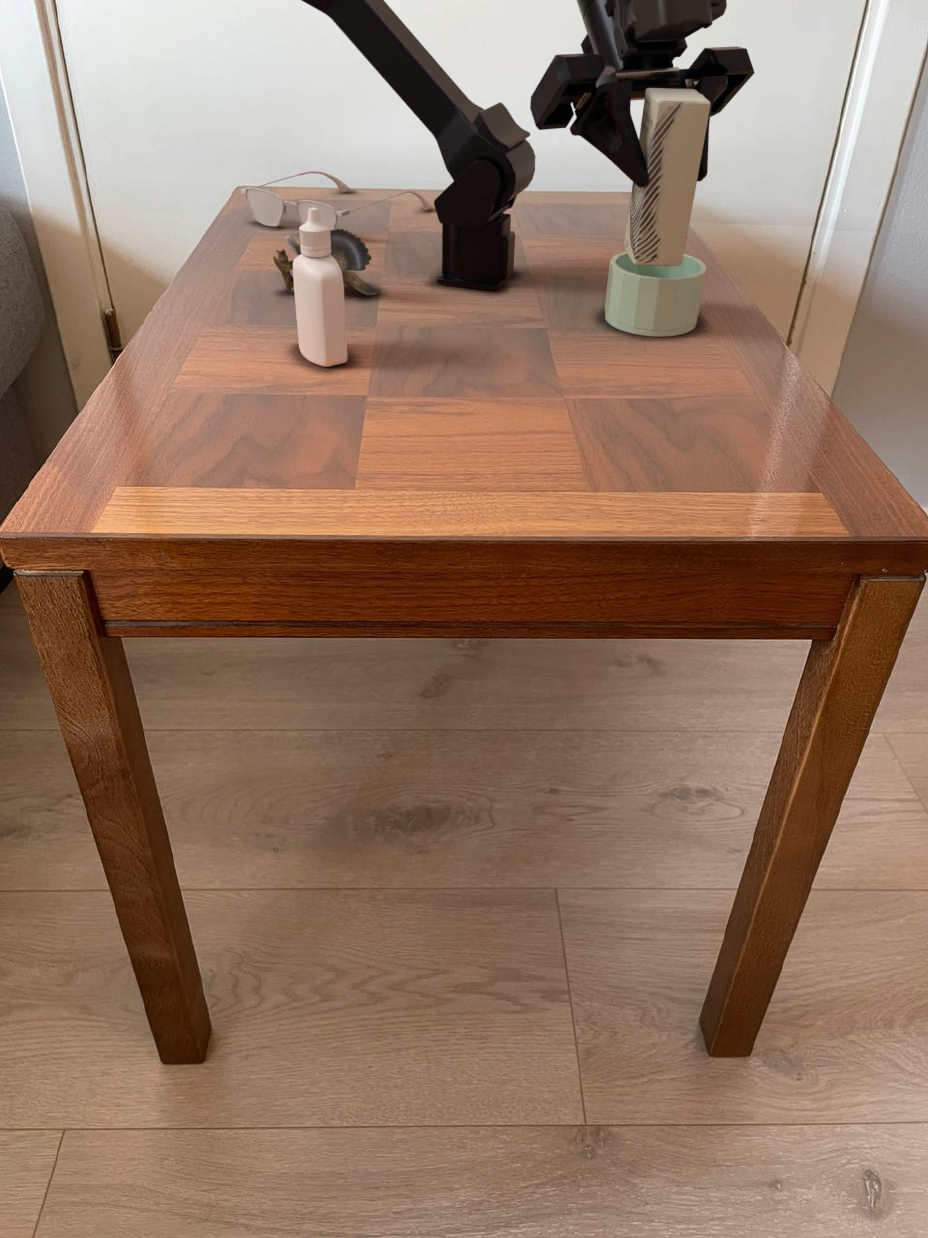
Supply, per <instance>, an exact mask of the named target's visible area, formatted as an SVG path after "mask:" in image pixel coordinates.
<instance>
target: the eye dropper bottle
mask: <svg viewBox="0 0 928 1238" xmlns="http://www.w3.org/2000/svg"><path fill="white" fill-rule="evenodd" d="M298 234H299V235H298V236H299V245H300V248H301V253H302V254H301V255H299V256H297V255H296V257H295V258H294V259H293V261H294V262H293V269H292V277H293V280H294V287H293V291H294V303H295V315H296V327H297V339H298V348H299V351H300V353H301V355H302V357H303V358H305V359H306V360H307V361H309V362H310V363H313V364H314V365H317V366H320V367H325V368H326V367H327V368H328V367H333V366H337V365H341V364H345V363H347V361H348V356H349V355H348V339H347V338H348V337H347V321H346V319H347V318H346V302H345V287H344V282H343V275H342V271H341V268H340V266H339V264H338V263H337V261H336V260H335V259H334V258H333V257H332V255H331V254H330V253H331V239H330V227H329V226H328V225H326V224H324V223H322V222H321V220H320V217H319V212H318V209H317V208H309V210H308V219H307V222H306V223H305V224H303V225H302V224H300V226H299V227H298Z"/></svg>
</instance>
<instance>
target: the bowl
mask: <svg viewBox="0 0 928 1238" xmlns="http://www.w3.org/2000/svg"><path fill="white" fill-rule="evenodd" d="M707 268H708V266H706V264H705V263H704V262H703V261H702V260H701V259H698V258H696V257H695V256H692V255H689V254H686V253H684V256H683V261H682V265H679V266H655V265H635V264H634V263H633V262H632V260H631V258H630V257H629V255H628V253H627V251H626V250H625V251H622V252H620V253H618V254H615V255H613V256H612V257H611V259H610V260H609V266H608V275H607V284H606V285H607V286H606V295H605V301H604V302H605V303H604V319H605V321H606V323H608V324H609V325H610V326H612V327H613V328H615V329H617V330H619V331H622V332H625V333H628V334H633V335H636V336H637V335H638V336H643V337H659V338H660V337H661V338H662V337H674V336H680V335H684V334H687V333H689V332H691V331H693V330H694V329H695V328H696V326H697V324H698V318H699V315H700V309H701V304H702V299H703V298H702V297H703V292H704V285H705V281H706V274H707Z"/></svg>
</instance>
